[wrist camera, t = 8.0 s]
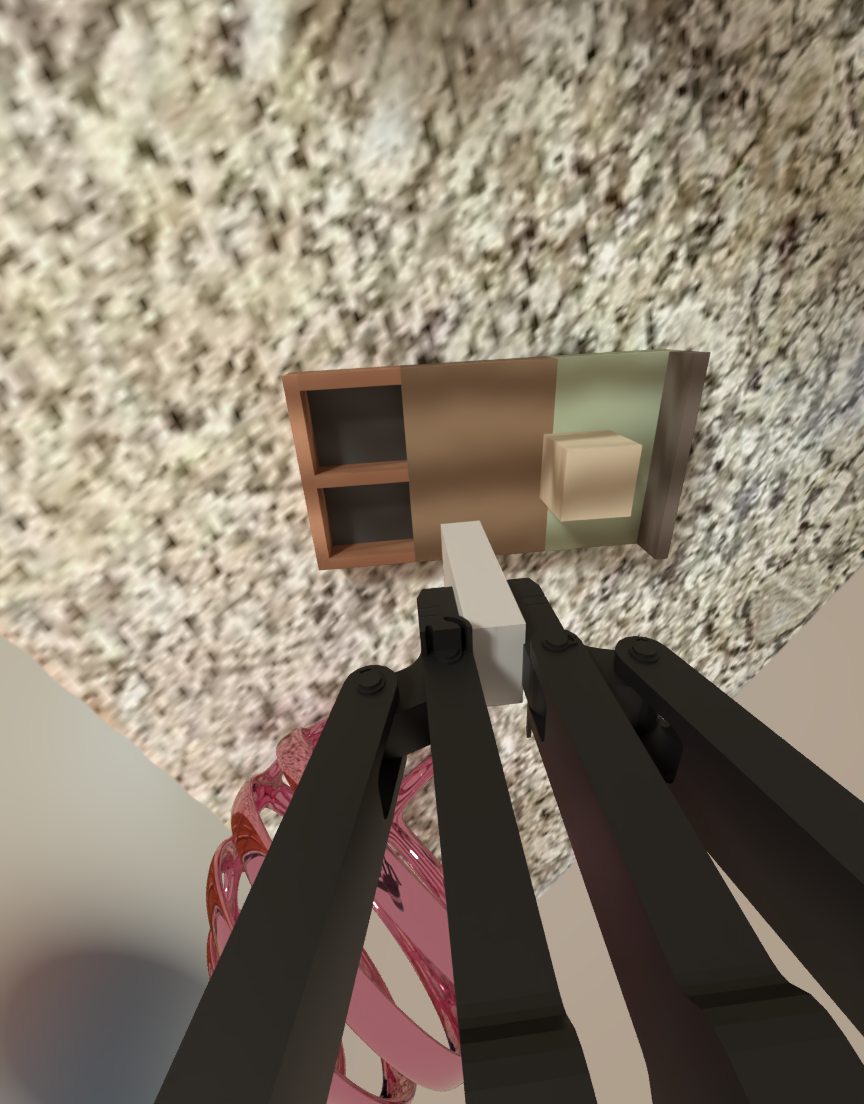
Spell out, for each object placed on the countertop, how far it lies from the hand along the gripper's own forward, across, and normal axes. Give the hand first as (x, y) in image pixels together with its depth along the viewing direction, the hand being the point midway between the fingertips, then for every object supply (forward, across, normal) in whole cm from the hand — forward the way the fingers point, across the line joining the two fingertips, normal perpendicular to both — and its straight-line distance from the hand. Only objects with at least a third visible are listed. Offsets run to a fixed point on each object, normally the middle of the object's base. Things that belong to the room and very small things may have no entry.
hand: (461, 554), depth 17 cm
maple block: (+17, +11, -2) cm, 21 cm away
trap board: (+20, +4, -2) cm, 21 cm away
